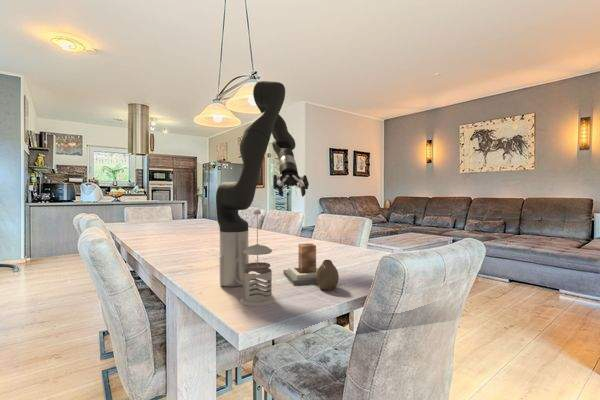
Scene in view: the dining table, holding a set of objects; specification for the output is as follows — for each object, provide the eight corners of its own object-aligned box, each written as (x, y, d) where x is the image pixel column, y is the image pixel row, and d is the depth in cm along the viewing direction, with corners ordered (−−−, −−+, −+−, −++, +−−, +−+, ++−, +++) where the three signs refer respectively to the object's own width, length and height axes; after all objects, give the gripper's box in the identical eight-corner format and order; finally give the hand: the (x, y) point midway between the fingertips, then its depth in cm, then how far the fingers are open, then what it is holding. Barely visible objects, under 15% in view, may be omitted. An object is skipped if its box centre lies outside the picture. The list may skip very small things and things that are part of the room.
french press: (279, 303, 83) (279, 210, 82) (236, 309, 79) (235, 211, 78) (270, 292, 92) (270, 208, 92) (230, 297, 88) (230, 209, 88)
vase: (323, 293, 92) (323, 263, 91) (312, 286, 98) (312, 259, 97) (343, 289, 95) (343, 261, 94) (330, 283, 101) (330, 257, 101)
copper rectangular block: (301, 275, 105) (301, 246, 105) (298, 271, 110) (298, 243, 110) (316, 274, 106) (316, 245, 106) (312, 271, 111) (312, 243, 111)
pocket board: (293, 285, 99) (293, 276, 99) (283, 274, 113) (283, 266, 113) (334, 281, 103) (334, 273, 103) (319, 271, 117) (319, 264, 117)
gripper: (272, 160, 129) (275, 188, 118) (305, 161, 132) (311, 188, 121) (270, 174, 134) (273, 201, 123) (302, 174, 137) (308, 201, 126)
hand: (292, 195), depth 122 cm, fingers open, 8 cm apart
